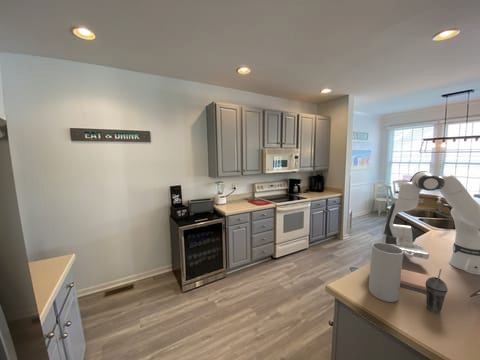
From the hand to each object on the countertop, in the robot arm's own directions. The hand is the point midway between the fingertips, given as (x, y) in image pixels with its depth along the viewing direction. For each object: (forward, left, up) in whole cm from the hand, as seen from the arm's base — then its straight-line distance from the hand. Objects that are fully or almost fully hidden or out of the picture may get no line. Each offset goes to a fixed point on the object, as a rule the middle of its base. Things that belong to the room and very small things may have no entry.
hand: (409, 256), depth 125 cm
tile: (0, +10, -7) cm, 12 cm away
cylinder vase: (+15, +40, -8) cm, 43 cm away
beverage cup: (-4, +40, -8) cm, 41 cm away
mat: (0, +19, -8) cm, 20 cm away
